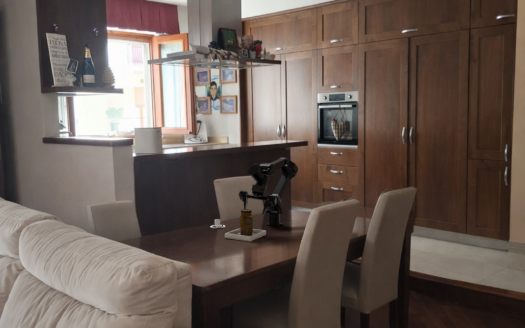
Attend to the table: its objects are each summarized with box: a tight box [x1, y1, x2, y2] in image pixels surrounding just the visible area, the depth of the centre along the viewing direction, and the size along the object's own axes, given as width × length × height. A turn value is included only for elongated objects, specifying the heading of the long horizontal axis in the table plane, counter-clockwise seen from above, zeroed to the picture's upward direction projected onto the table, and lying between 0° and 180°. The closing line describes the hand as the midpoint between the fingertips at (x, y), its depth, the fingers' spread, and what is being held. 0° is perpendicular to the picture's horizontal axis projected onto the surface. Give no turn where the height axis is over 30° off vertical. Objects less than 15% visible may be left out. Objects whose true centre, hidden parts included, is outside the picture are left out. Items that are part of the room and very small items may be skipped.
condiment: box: [238, 208, 254, 236], centre depth 246 cm, size 7×8×12 cm
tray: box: [224, 227, 267, 242], centre depth 246 cm, size 14×14×2 cm
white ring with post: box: [209, 218, 226, 229], centre depth 269 cm, size 9×8×4 cm
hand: (253, 213), depth 252 cm, fingers open, 9 cm apart
